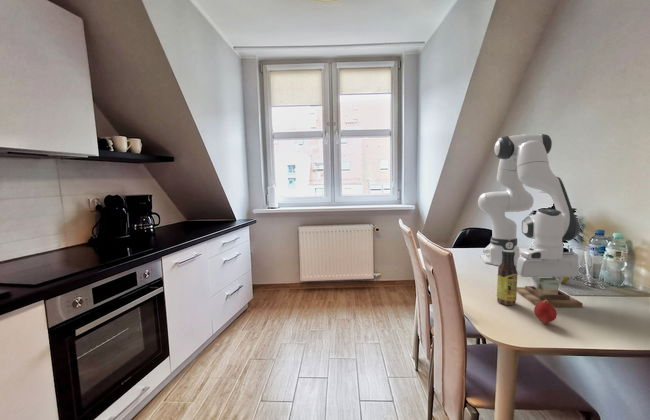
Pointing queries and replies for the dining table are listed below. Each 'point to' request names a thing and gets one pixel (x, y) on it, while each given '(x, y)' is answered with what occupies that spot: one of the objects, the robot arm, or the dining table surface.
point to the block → (547, 286)
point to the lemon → (564, 279)
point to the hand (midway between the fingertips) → (546, 287)
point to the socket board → (548, 297)
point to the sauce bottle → (507, 279)
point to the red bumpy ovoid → (545, 312)
